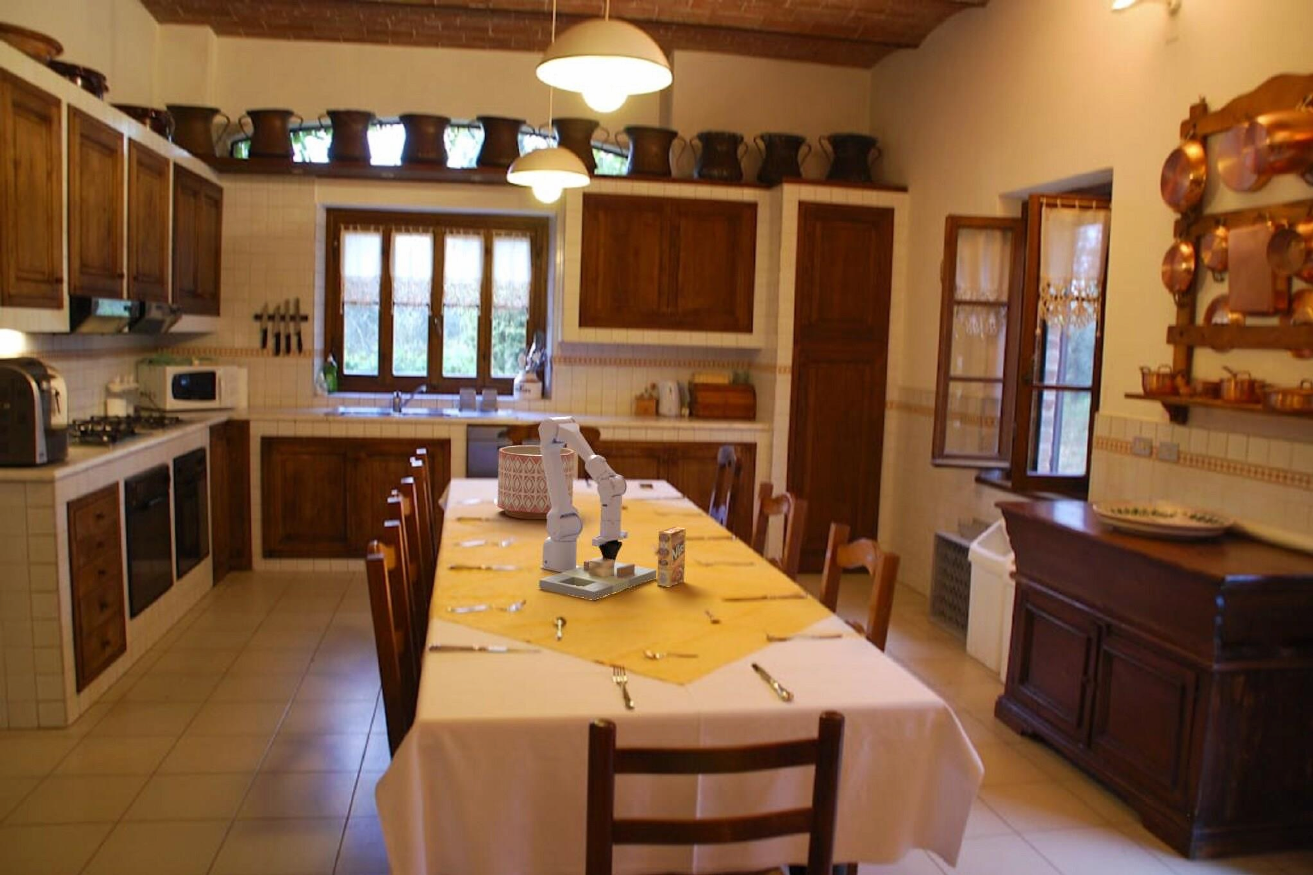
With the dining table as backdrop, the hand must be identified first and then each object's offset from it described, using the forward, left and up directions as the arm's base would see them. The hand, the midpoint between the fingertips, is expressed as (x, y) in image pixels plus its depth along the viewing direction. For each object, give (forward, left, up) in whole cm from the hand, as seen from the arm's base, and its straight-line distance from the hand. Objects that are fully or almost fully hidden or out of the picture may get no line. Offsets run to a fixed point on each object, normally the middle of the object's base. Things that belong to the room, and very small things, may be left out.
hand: (609, 567), depth 276 cm
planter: (-75, +59, -4) cm, 96 cm away
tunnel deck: (0, -5, -4) cm, 6 cm away
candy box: (+15, +8, -4) cm, 18 cm away
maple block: (0, -4, -1) cm, 4 cm away
